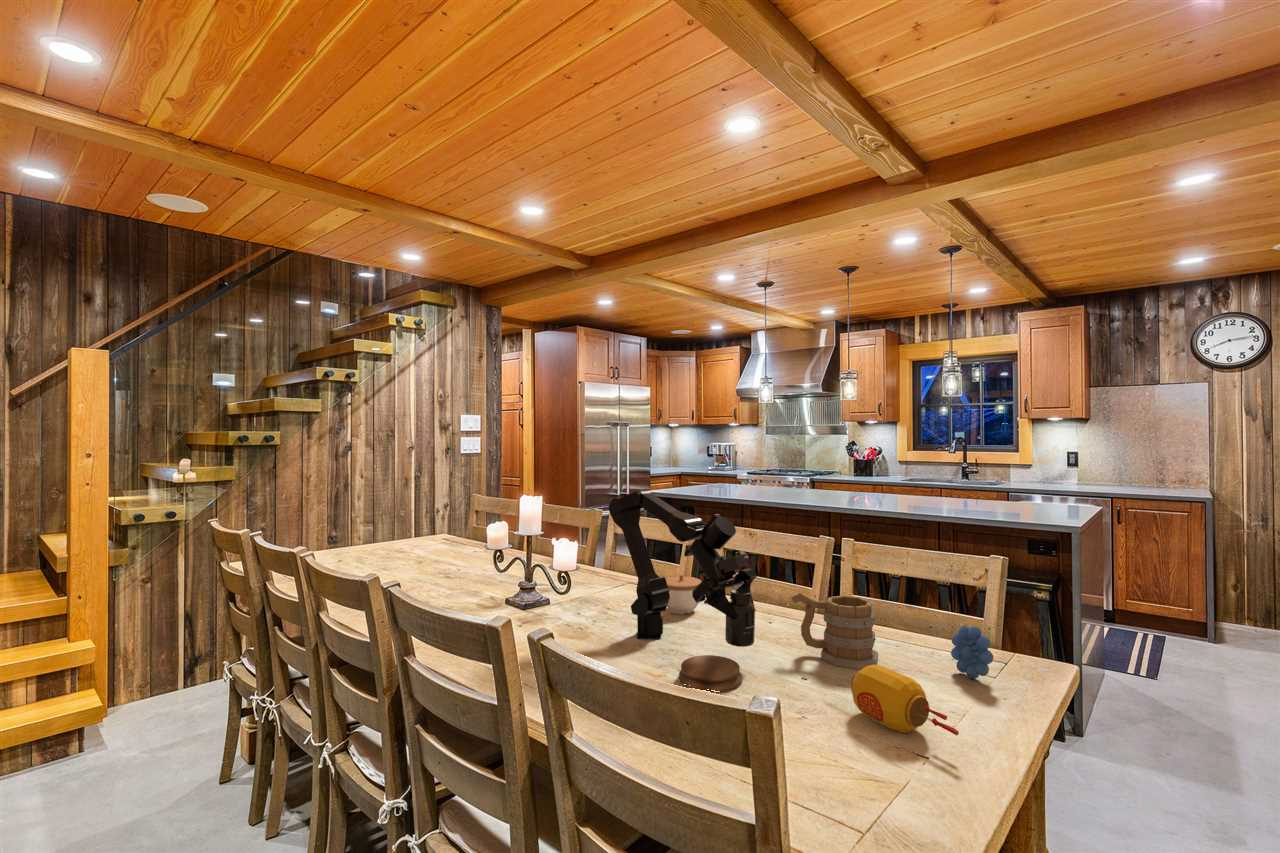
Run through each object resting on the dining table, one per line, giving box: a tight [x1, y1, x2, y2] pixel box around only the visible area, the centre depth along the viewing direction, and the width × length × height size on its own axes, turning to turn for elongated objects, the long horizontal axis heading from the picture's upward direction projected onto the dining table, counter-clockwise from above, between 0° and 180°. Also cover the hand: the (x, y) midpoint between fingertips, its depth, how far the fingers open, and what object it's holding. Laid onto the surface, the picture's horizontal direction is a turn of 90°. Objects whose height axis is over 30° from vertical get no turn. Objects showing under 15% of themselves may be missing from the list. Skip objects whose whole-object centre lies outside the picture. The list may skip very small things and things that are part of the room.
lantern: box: [829, 664, 960, 736], centre depth 116 cm, size 10×10×30 cm
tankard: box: [791, 592, 879, 670], centre depth 150 cm, size 20×13×15 cm, turn 65°
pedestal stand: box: [678, 654, 743, 694], centre depth 137 cm, size 14×14×3 cm
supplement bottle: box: [724, 589, 756, 648], centre depth 144 cm, size 7×7×12 cm
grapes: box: [950, 625, 994, 680], centre depth 136 cm, size 12×7×12 cm, turn 13°
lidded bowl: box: [665, 574, 702, 615], centre depth 189 cm, size 13×13×11 cm
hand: (745, 615), depth 143 cm, fingers closed on supplement bottle, 7 cm apart
